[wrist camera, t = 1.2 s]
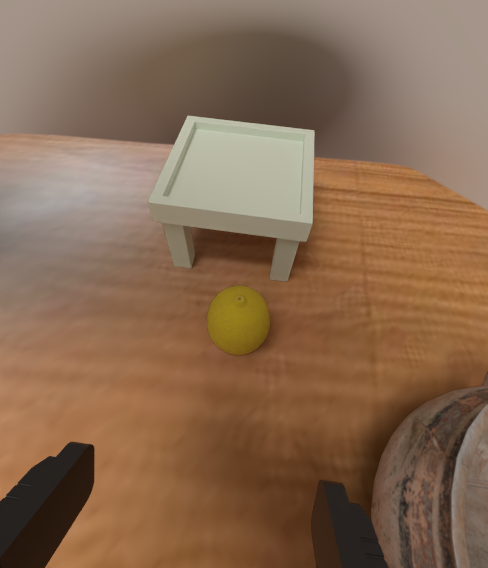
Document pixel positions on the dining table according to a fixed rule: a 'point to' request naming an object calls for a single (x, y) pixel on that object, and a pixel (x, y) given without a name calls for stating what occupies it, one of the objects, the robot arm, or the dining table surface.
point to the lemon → (238, 320)
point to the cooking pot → (436, 485)
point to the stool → (237, 187)
